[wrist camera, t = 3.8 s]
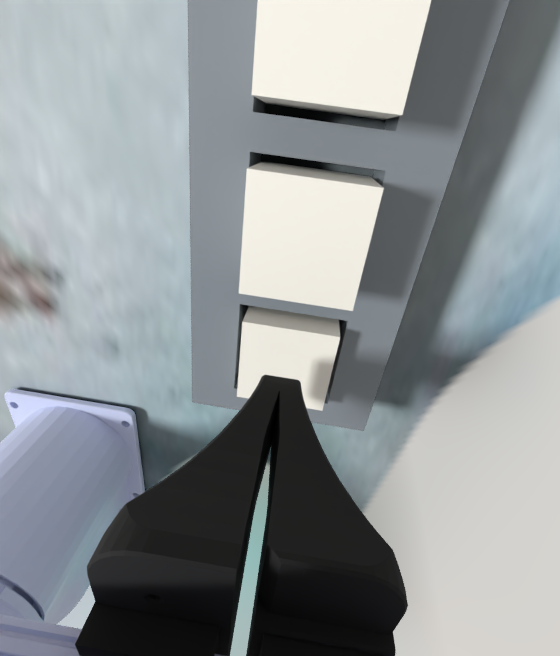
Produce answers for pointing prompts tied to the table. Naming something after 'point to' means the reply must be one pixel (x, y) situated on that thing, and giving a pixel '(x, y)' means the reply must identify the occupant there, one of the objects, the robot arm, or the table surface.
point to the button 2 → (338, 54)
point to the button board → (331, 147)
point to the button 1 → (288, 351)
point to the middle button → (306, 233)
